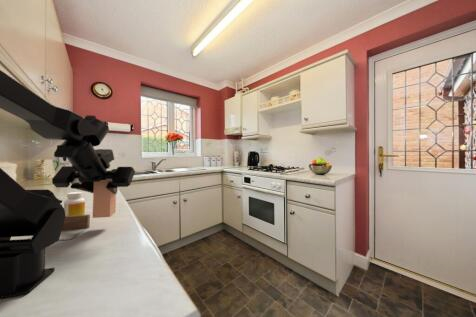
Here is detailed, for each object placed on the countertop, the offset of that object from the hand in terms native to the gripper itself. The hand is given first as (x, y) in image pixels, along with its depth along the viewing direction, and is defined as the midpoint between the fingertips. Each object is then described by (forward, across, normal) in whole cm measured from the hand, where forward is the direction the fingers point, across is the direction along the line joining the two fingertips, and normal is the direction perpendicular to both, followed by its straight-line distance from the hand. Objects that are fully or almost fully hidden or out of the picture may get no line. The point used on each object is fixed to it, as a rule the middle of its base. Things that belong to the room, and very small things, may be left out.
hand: (107, 193), depth 56 cm
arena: (+4, +9, +11) cm, 15 cm away
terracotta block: (+4, 0, +6) cm, 7 cm away
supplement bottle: (+13, +14, +2) cm, 20 cm away
